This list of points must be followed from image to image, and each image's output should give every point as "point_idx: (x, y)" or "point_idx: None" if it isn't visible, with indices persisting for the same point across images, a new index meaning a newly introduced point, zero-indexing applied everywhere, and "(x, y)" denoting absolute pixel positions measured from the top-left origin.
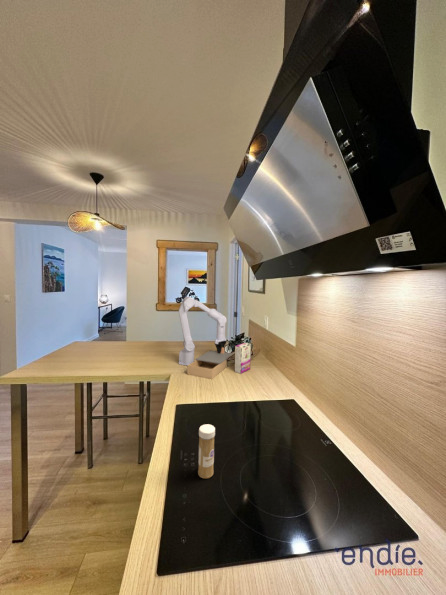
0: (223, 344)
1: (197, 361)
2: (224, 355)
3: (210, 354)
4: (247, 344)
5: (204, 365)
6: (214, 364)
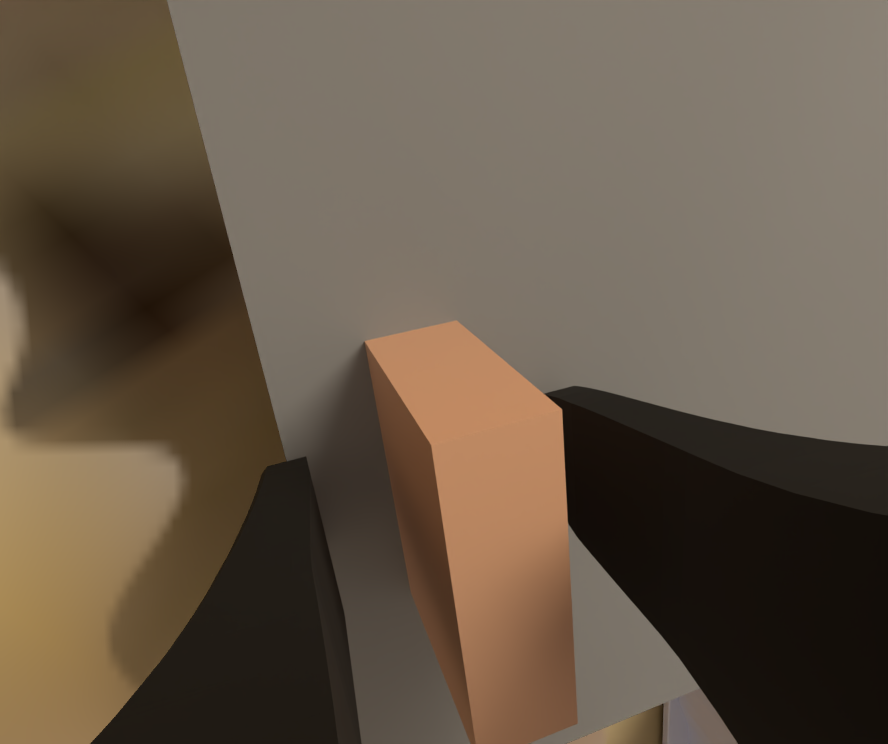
0: (344, 727)
1: None
2: (689, 115)
3: None
4: None
5: None
6: None
